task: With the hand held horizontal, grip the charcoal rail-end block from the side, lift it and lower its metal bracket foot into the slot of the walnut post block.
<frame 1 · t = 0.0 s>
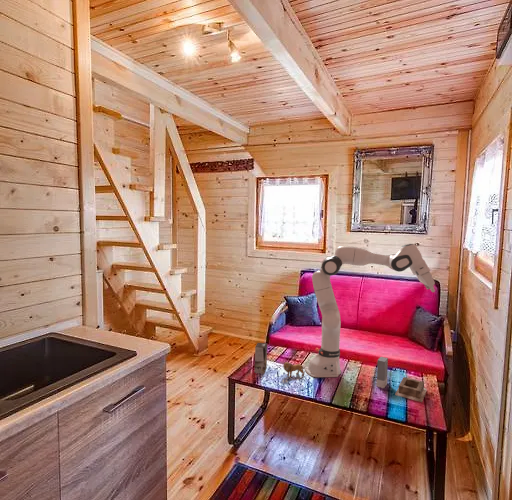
hand: (431, 290, 191), 54 cm above the table, tool tilted 30°, fingers open, 8 cm apart
lion figurine: (293, 376, 197), on the table
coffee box: (260, 370, 204), on the table
post block: (411, 392, 179), on the table
rail end: (381, 384, 188), on the table
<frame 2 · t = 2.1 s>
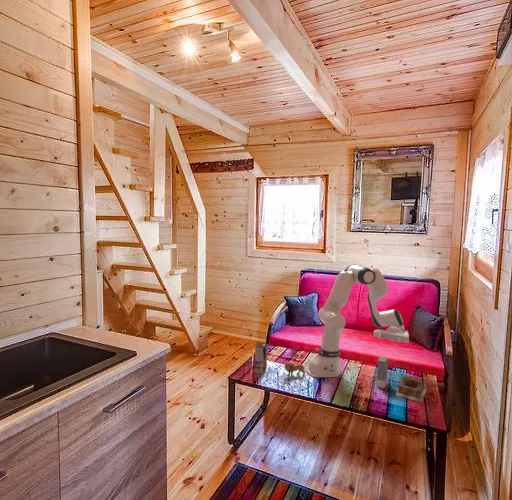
hand: (388, 338, 197), 24 cm above the table, tool horizontal, fingers open, 8 cm apart
nothing on the table moved.
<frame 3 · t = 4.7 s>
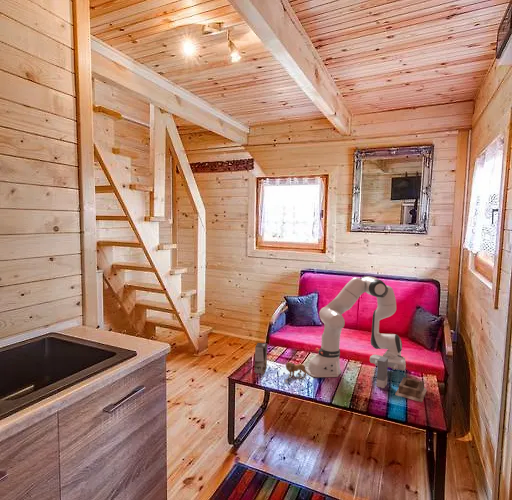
hand: (384, 366, 193), 9 cm above the table, tool horizontal, fingers open, 8 cm apart
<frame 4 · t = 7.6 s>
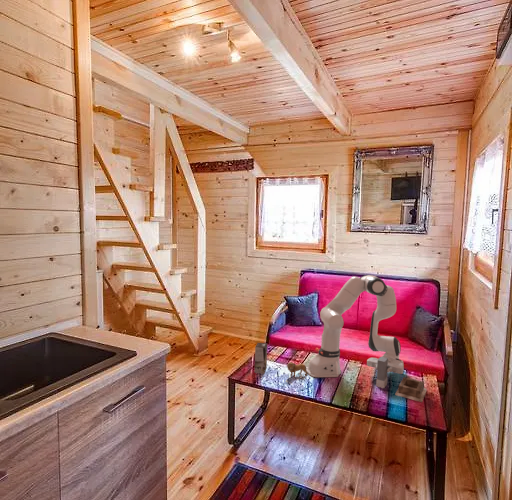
hand: (382, 369, 187), 9 cm above the table, tool horizontal, fingers closed on rail end, 4 cm apart
rail end: (381, 384, 188), on the table, touching gripper
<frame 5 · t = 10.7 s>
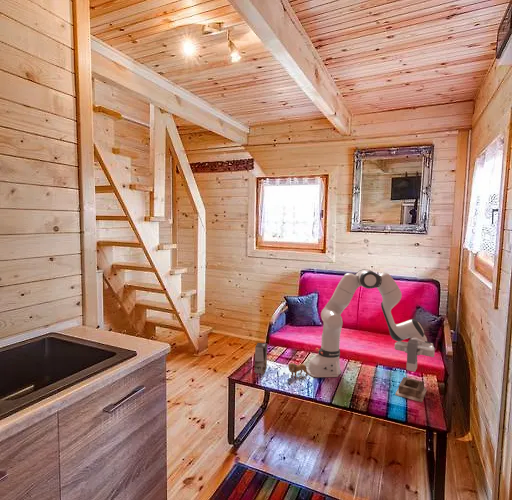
hand: (412, 352, 178), 22 cm above the table, tool horizontal, fingers closed on rail end, 4 cm apart
rail end: (411, 368, 179), point 13 cm above the table, touching gripper
when the fingers open (11 cm above the table, at t = 13.7 s): rail end drops 1 cm, resting on post block.
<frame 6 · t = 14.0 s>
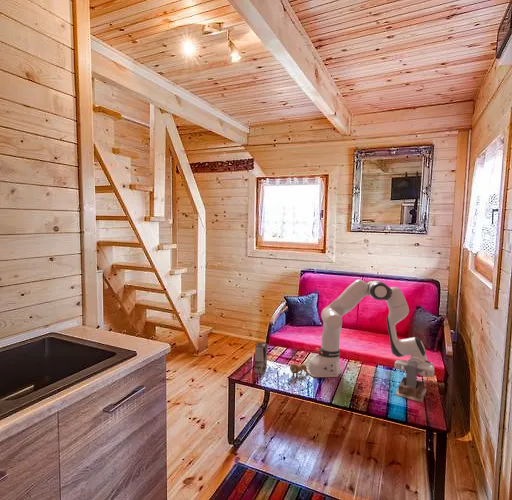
hand: (411, 372, 178), 11 cm above the table, tool horizontal, fingers open, 7 cm apart
rail end: (411, 390, 179), point 1 cm above the table, touching post block
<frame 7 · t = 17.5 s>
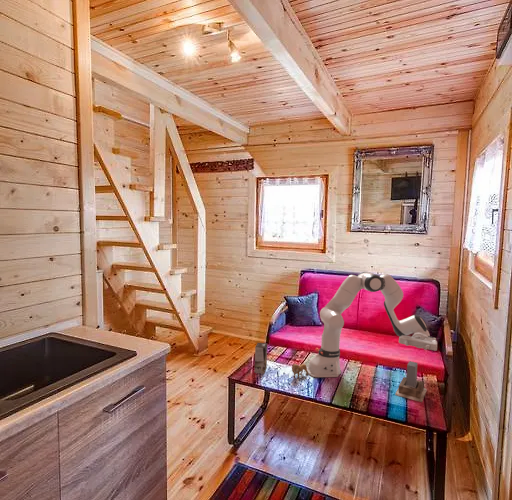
hand: (415, 346, 186), 23 cm above the table, tool horizontal, fingers open, 8 cm apart
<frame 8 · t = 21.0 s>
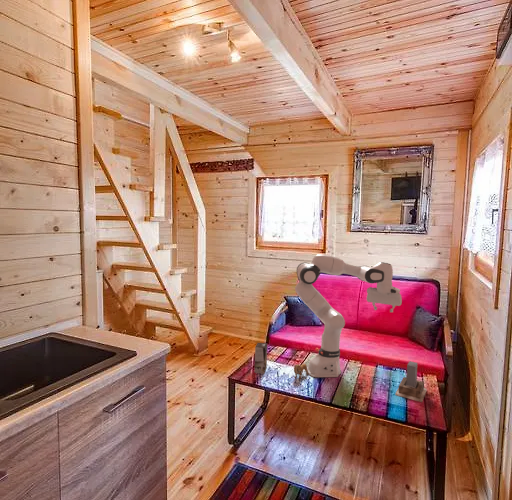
hand: (383, 310, 202), 39 cm above the table, tool pointing down, fingers open, 8 cm apart
lion figurine: (301, 377, 196), on the table, touching arm
everything else where it was.
at the end: rail end 0.1 cm off-centre on the post block, point 1.0 cm above the post block's base; rail end tilted 0°; the gripper is holding nothing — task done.
